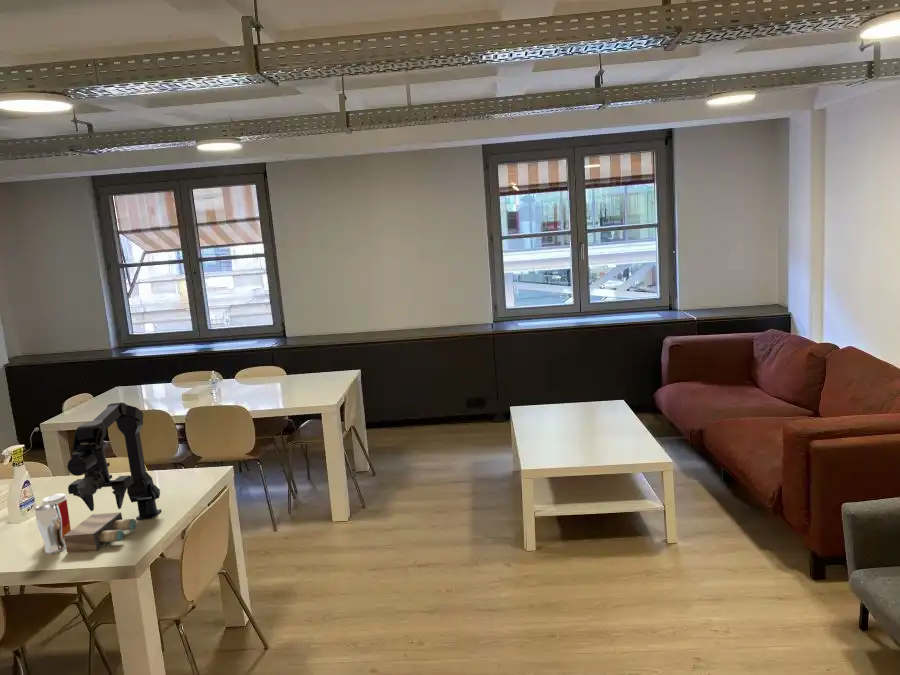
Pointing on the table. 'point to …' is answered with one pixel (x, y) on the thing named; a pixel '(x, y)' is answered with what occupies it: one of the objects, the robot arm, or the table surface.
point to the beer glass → (50, 527)
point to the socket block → (90, 533)
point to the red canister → (62, 504)
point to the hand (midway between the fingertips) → (106, 509)
